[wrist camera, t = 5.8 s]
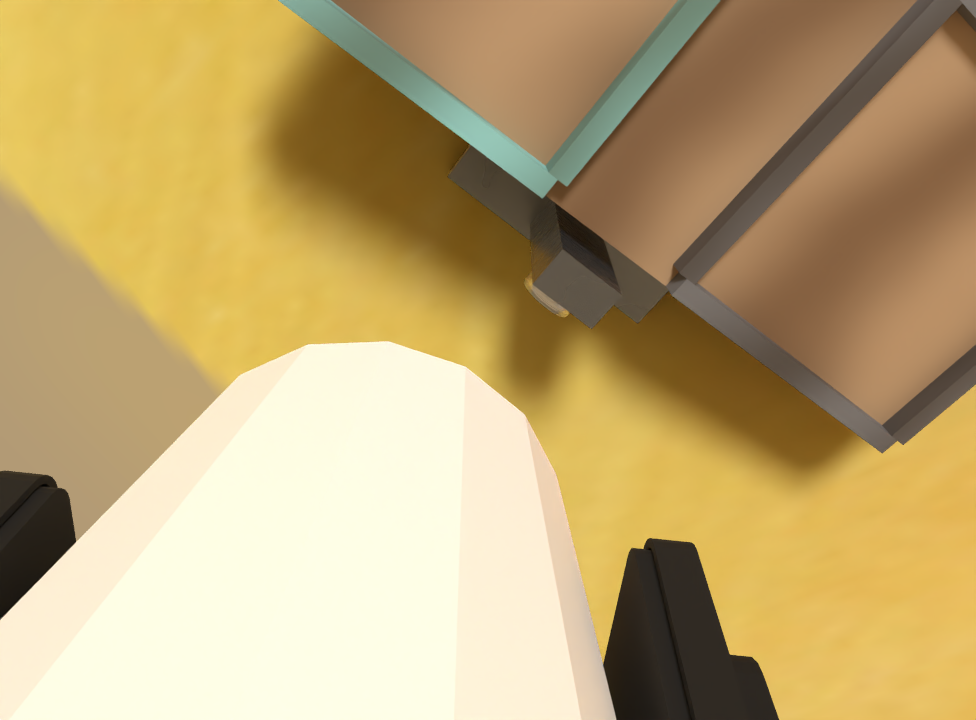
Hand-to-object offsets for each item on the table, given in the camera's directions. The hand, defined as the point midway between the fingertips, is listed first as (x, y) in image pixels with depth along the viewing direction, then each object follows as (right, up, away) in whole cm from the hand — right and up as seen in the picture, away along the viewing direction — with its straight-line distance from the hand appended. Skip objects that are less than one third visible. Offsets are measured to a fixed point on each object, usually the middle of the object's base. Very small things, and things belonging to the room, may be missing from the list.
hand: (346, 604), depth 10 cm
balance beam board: (+8, +10, +10) cm, 16 cm away
